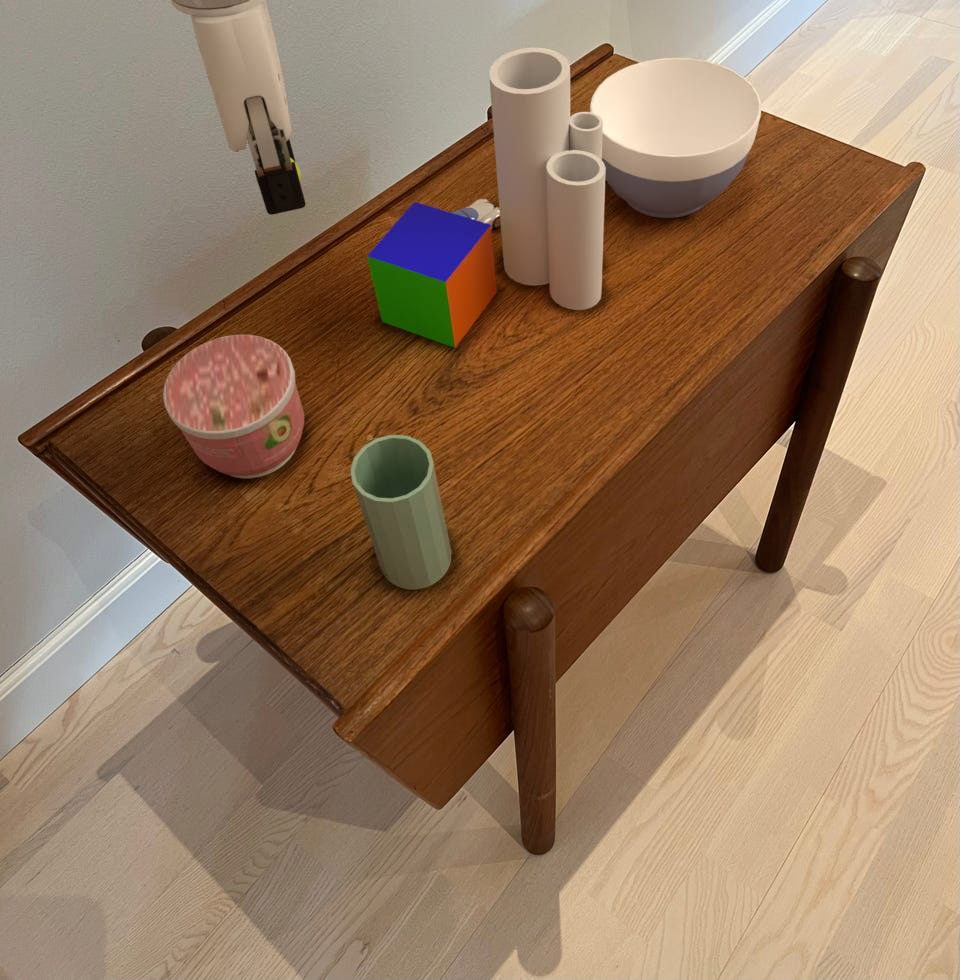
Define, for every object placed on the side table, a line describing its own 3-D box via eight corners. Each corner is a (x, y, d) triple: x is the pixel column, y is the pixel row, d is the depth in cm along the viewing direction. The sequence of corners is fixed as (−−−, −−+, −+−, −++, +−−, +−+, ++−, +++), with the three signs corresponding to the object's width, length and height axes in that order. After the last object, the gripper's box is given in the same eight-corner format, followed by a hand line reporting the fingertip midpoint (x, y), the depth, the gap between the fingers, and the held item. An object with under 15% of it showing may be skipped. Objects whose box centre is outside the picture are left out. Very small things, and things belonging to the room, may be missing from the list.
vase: (489, 268, 92) (471, 78, 75) (535, 228, 95) (527, 36, 78) (582, 317, 87) (585, 125, 71) (628, 273, 90) (640, 79, 74)
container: (198, 505, 78) (164, 446, 72) (191, 411, 84) (159, 349, 78) (323, 475, 79) (300, 414, 72) (307, 385, 85) (285, 321, 78)
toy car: (532, 209, 96) (531, 188, 94) (437, 262, 93) (434, 242, 91) (511, 193, 98) (509, 171, 96) (416, 244, 95) (413, 224, 93)
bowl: (647, 124, 103) (653, 40, 95) (776, 176, 96) (794, 90, 88) (556, 201, 97) (555, 118, 89) (688, 263, 90) (699, 179, 82)
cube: (425, 268, 93) (414, 201, 86) (496, 292, 90) (491, 224, 83) (382, 321, 89) (367, 256, 82) (455, 347, 86) (445, 282, 80)
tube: (387, 597, 72) (358, 510, 62) (374, 538, 75) (344, 446, 65) (458, 579, 72) (441, 489, 62) (442, 520, 75) (423, 426, 66)
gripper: (157, -75, 68) (229, 147, 83) (170, 39, 59) (249, 267, 74) (259, -95, 69) (313, 129, 84) (289, 16, 59) (344, 246, 74)
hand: (283, 192), depth 78 cm, fingers closed on ball, 3 cm apart
